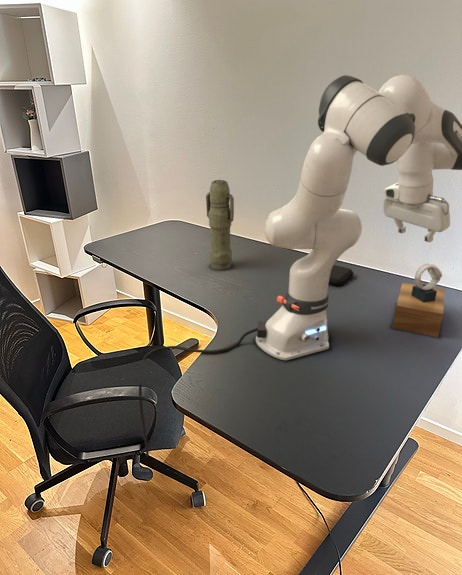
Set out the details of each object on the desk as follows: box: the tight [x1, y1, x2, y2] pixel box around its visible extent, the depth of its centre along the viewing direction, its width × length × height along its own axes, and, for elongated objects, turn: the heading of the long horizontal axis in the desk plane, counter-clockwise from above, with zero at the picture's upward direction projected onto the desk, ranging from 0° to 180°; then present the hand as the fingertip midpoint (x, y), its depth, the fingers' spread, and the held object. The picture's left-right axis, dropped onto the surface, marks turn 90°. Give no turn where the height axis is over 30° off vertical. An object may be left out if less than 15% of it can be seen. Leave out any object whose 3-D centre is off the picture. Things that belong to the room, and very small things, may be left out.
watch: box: [411, 263, 443, 303], centre depth 135 cm, size 6×8×11 cm
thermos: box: [205, 179, 235, 271], centre depth 174 cm, size 9×12×35 cm
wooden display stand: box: [392, 282, 446, 338], centre depth 139 cm, size 18×13×8 cm
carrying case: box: [328, 264, 355, 287], centre depth 169 cm, size 11×3×15 cm
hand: (414, 236), depth 128 cm, fingers open, 8 cm apart
